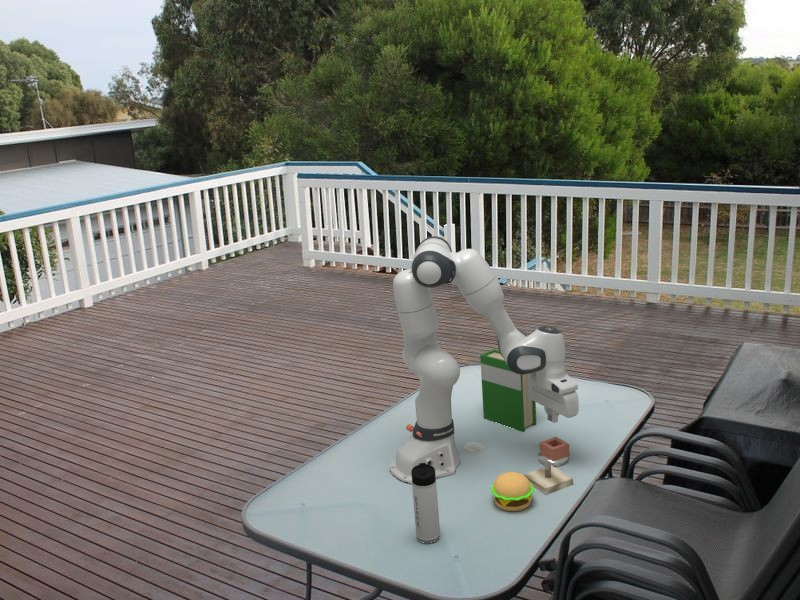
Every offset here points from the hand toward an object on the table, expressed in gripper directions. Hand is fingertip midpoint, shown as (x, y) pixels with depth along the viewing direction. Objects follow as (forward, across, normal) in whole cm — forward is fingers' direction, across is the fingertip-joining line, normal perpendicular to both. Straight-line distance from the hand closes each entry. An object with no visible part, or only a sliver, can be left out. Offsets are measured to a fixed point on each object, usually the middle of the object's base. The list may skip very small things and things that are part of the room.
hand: (552, 421), depth 226 cm
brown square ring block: (+12, 0, 0) cm, 12 cm away
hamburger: (+13, +13, -25) cm, 31 cm away
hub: (+13, 0, 0) cm, 13 cm away
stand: (+13, +10, -10) cm, 19 cm away
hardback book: (+13, -31, +6) cm, 34 cm away
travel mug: (+13, +14, -53) cm, 57 cm away
